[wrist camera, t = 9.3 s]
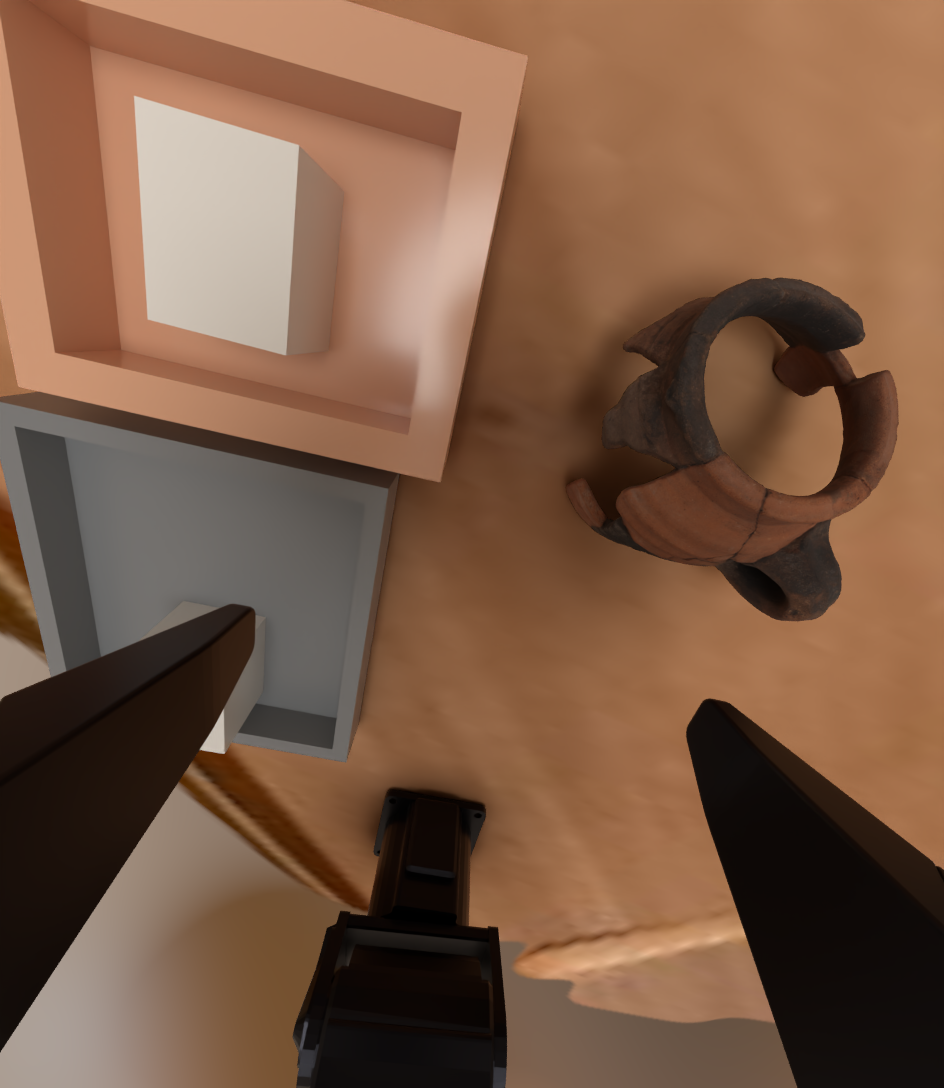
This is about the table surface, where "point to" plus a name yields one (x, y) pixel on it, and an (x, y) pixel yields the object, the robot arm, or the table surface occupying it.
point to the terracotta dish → (287, 114)
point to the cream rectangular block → (236, 232)
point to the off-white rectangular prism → (246, 686)
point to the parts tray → (202, 551)
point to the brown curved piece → (710, 474)
